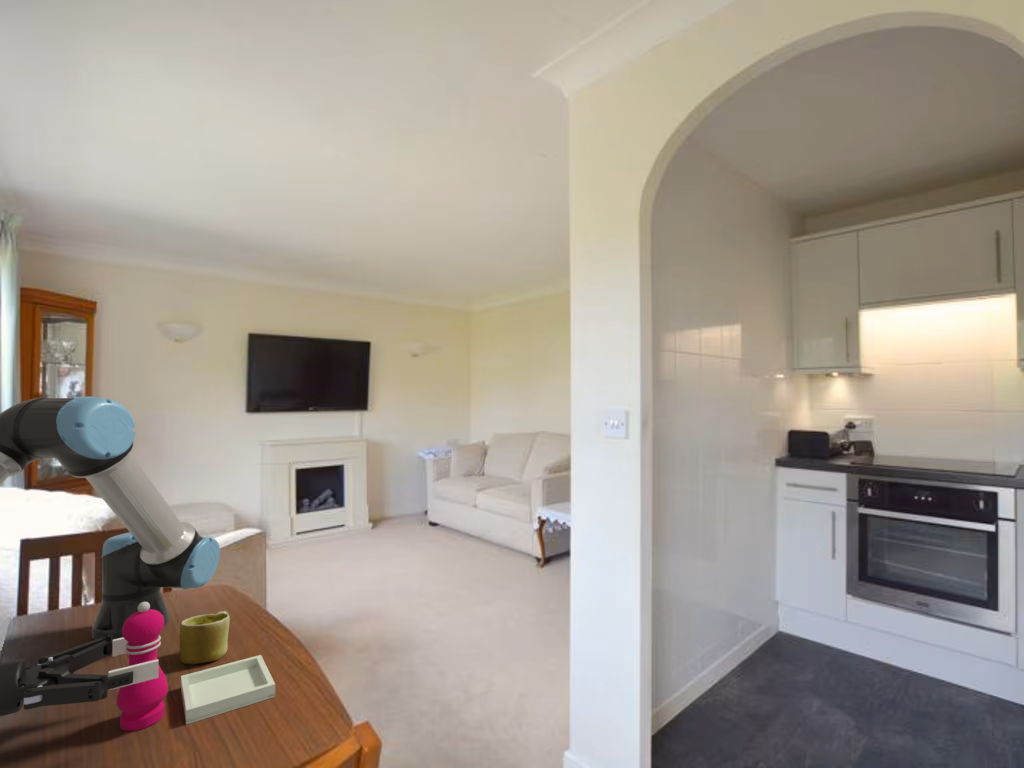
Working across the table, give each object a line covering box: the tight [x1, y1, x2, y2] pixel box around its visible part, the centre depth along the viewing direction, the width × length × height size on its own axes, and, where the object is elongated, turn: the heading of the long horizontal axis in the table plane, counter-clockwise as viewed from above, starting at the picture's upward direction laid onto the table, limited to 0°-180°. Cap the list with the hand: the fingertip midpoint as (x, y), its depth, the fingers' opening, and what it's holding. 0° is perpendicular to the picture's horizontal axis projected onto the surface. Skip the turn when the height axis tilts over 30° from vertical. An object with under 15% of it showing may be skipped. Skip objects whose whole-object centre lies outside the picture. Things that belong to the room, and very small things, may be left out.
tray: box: [180, 654, 276, 725], centre depth 99 cm, size 14×14×2 cm
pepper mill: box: [116, 602, 169, 732], centre depth 91 cm, size 7×7×20 cm
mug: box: [179, 610, 231, 665], centre depth 114 cm, size 12×10×10 cm
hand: (157, 652), depth 92 cm, fingers open, 13 cm apart
